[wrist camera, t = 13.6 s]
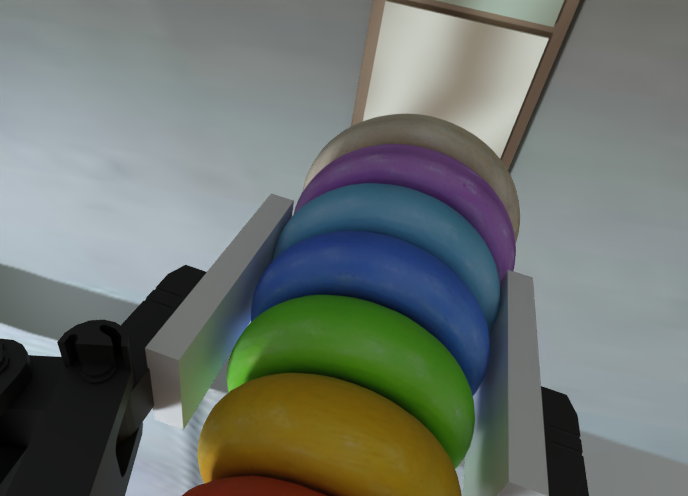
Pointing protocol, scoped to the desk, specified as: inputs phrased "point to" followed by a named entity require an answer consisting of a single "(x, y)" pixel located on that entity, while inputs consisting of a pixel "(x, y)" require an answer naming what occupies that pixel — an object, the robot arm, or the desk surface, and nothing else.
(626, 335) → the desk surface
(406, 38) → the board
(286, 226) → the stacking toy
